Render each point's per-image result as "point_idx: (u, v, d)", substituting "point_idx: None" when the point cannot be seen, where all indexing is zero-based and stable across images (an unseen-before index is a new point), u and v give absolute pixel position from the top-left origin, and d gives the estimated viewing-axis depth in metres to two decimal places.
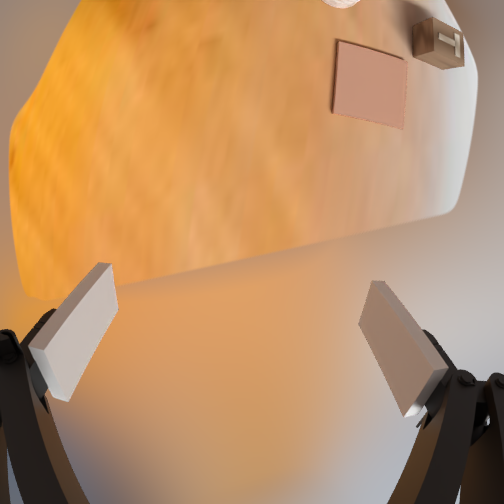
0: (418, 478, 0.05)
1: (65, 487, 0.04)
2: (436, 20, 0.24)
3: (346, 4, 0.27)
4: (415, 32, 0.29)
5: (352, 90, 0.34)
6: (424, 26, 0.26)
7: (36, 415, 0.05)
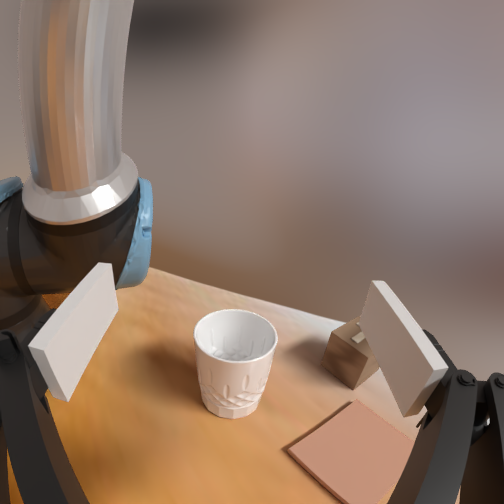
0: (418, 478, 0.05)
1: (65, 487, 0.04)
2: (336, 330, 0.35)
3: (256, 401, 0.28)
4: (329, 366, 0.36)
5: (354, 479, 0.20)
6: (333, 350, 0.35)
7: (36, 415, 0.05)
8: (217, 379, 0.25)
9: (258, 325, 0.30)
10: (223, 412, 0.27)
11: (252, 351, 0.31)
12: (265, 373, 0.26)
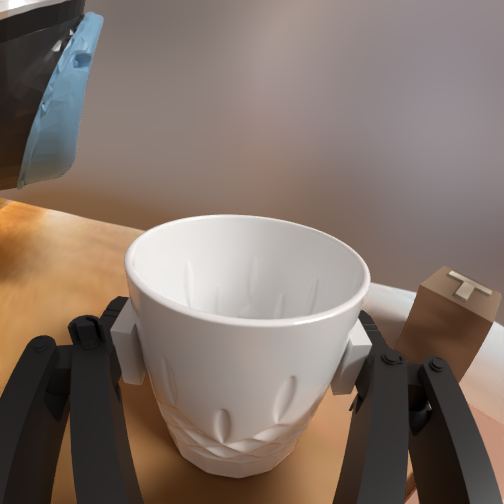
0: (357, 468, 0.05)
1: (127, 483, 0.05)
2: (427, 283, 0.17)
3: (296, 439, 0.11)
4: (410, 354, 0.18)
5: None
6: (421, 321, 0.17)
7: (111, 407, 0.06)
8: (192, 391, 0.07)
9: (300, 251, 0.13)
10: (216, 467, 0.10)
11: None
12: (335, 368, 0.09)
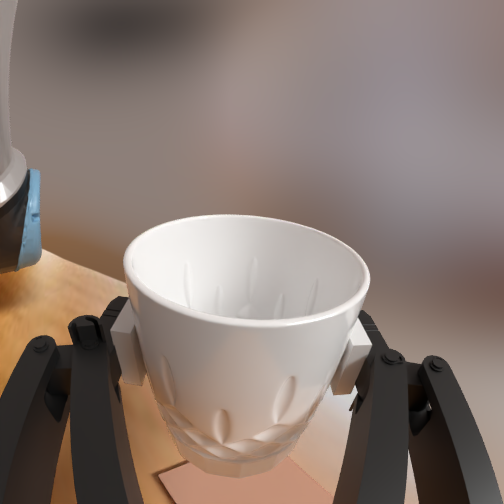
0: (357, 468, 0.05)
1: (127, 482, 0.05)
2: None
3: (296, 439, 0.11)
4: None
5: None
6: None
7: (111, 407, 0.06)
8: (191, 391, 0.07)
9: (300, 251, 0.13)
10: (216, 467, 0.10)
11: None
12: (335, 368, 0.09)
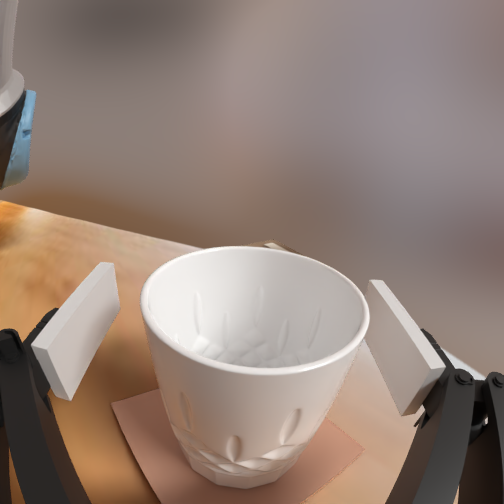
0: (416, 477, 0.05)
1: (68, 486, 0.04)
2: None
3: (299, 453, 0.11)
4: None
5: (201, 483, 0.11)
6: None
7: (39, 415, 0.05)
8: (207, 421, 0.08)
9: (304, 281, 0.13)
10: (226, 480, 0.10)
11: (286, 344, 0.14)
12: (336, 395, 0.09)
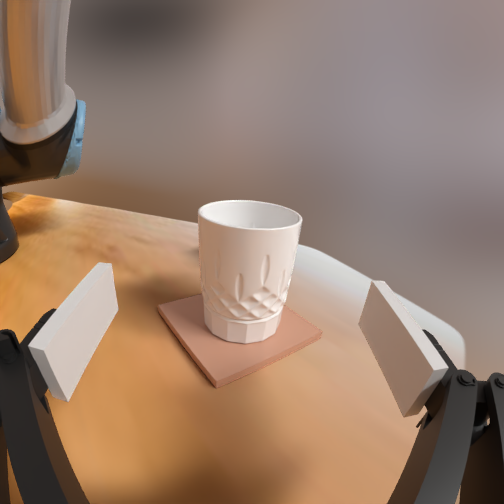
0: (418, 478, 0.05)
1: (66, 486, 0.04)
2: None
3: (276, 317, 0.24)
4: None
5: (217, 341, 0.23)
6: None
7: (36, 415, 0.05)
8: (227, 265, 0.20)
9: (276, 217, 0.25)
10: (233, 331, 0.23)
11: None
12: (289, 263, 0.22)
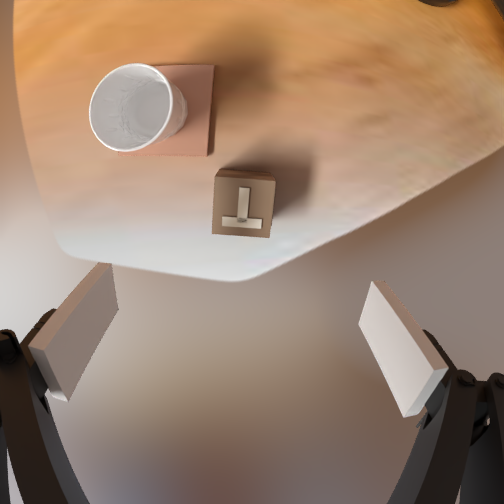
0: (418, 477, 0.05)
1: (66, 487, 0.04)
2: (271, 187, 0.29)
3: None
4: (258, 172, 0.33)
5: None
6: (263, 176, 0.31)
7: (36, 415, 0.05)
8: None
9: (140, 145, 0.23)
10: None
11: None
12: None
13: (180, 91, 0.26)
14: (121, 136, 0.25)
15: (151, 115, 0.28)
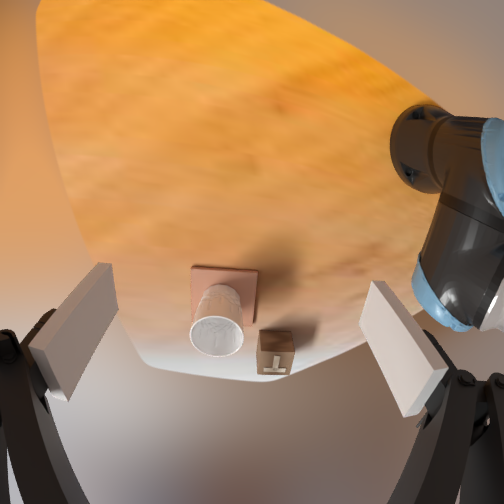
0: (418, 478, 0.05)
1: (66, 487, 0.04)
2: (292, 355, 0.49)
3: None
4: (283, 333, 0.54)
5: (213, 282, 0.49)
6: (287, 343, 0.51)
7: (36, 415, 0.05)
8: (204, 307, 0.42)
9: (222, 350, 0.44)
10: (207, 291, 0.48)
11: (224, 334, 0.47)
12: None
13: (238, 301, 0.47)
14: (204, 333, 0.46)
15: None
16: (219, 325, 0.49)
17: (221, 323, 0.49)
